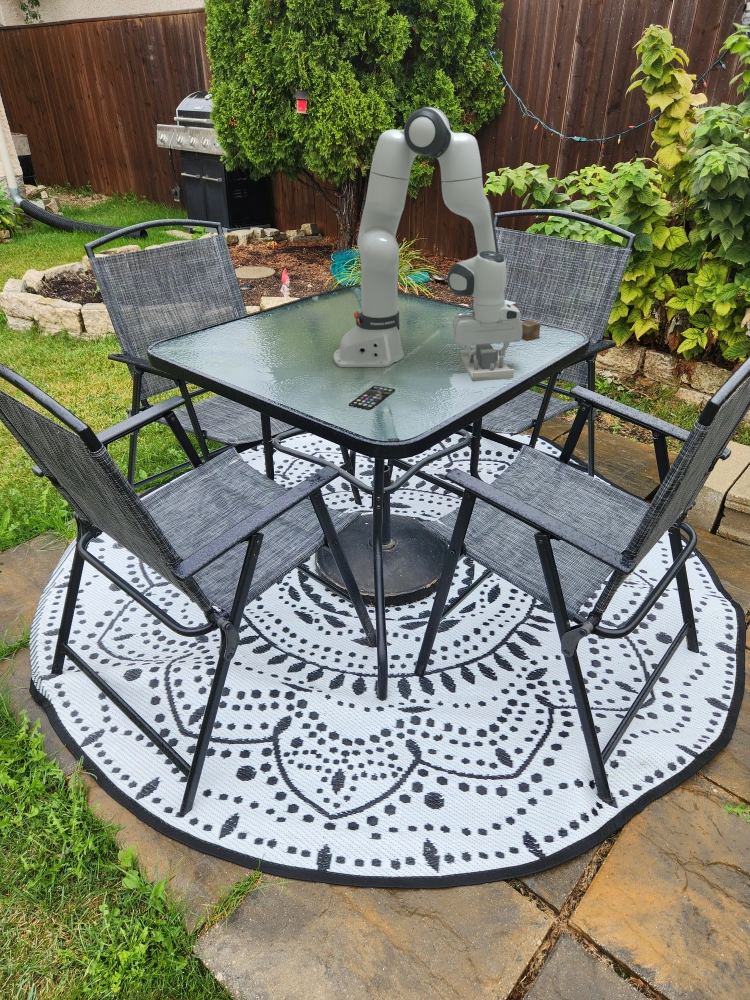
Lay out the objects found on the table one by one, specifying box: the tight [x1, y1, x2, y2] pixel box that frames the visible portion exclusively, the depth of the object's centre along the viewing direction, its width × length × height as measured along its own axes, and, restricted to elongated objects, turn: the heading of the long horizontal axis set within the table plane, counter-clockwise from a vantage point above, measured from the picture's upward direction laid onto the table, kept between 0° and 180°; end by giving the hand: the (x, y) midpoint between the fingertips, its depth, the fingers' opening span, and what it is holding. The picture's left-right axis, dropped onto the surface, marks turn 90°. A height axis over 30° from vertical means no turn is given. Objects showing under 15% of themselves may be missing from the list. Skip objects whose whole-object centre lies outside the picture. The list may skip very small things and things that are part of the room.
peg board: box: [459, 348, 515, 382], centre depth 201 cm, size 12×18×4 cm, turn 6°
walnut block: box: [521, 319, 541, 342], centre depth 221 cm, size 5×5×5 cm
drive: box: [475, 344, 496, 369], centre depth 201 cm, size 4×8×5 cm, turn 6°
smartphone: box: [348, 385, 396, 411], centre depth 187 cm, size 7×1×15 cm
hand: (486, 357), depth 200 cm, fingers open, 8 cm apart
